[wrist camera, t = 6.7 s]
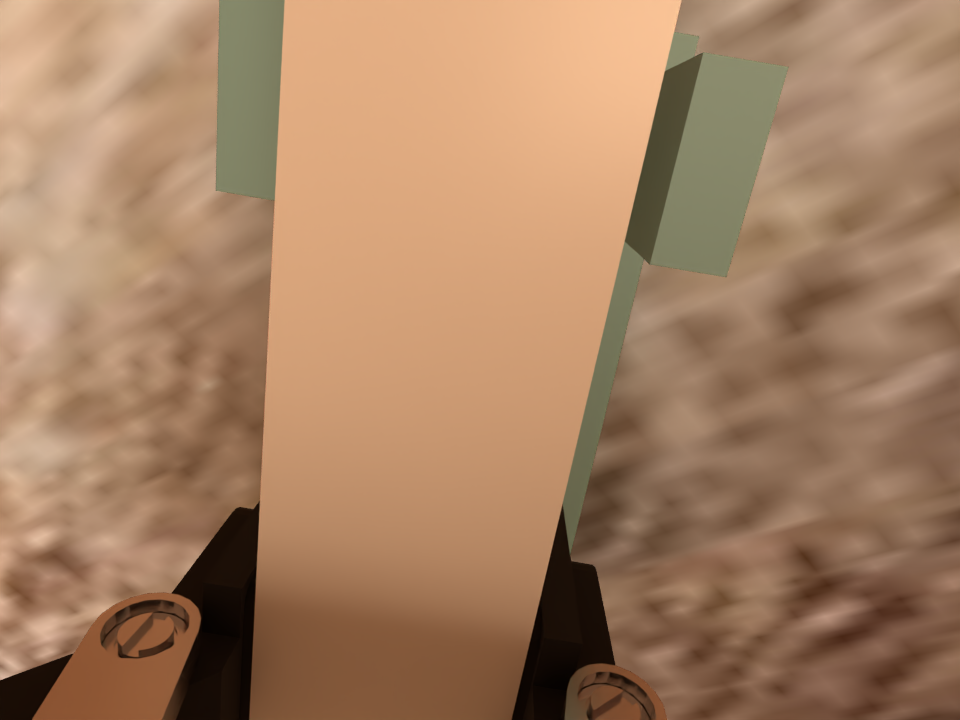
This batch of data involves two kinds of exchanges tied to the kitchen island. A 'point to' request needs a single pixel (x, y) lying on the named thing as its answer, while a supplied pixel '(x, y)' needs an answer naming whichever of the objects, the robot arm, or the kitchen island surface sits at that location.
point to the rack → (659, 197)
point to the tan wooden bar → (435, 335)
